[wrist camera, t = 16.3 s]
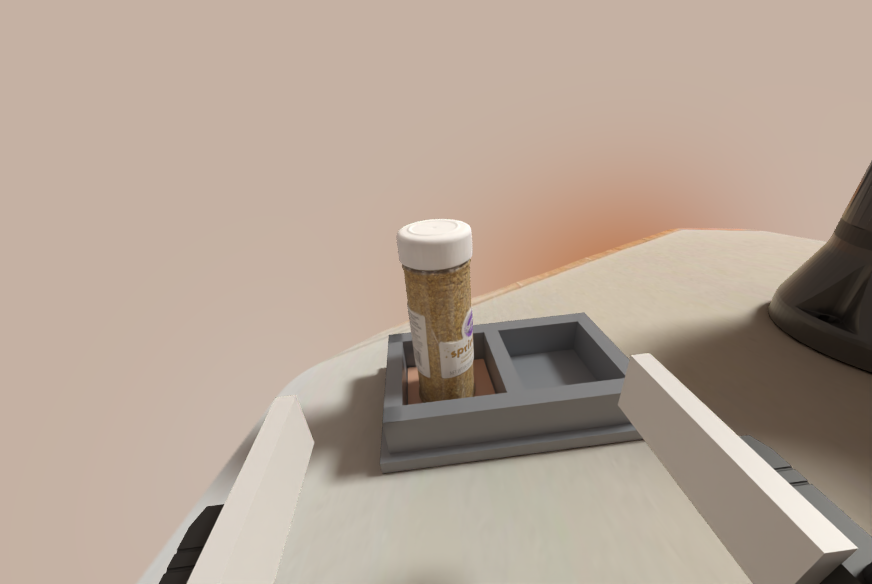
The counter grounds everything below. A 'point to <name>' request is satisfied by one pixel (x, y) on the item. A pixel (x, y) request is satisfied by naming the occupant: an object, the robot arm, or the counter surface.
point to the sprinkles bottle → (439, 305)
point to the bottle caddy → (509, 396)
